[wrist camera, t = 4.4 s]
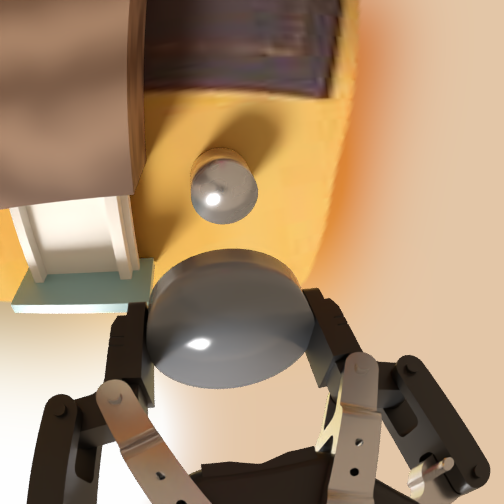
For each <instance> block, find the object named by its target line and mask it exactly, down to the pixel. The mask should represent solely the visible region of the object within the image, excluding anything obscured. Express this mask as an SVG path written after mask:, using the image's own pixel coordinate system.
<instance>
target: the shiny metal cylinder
mask: <svg viewBox="0 0 504 504" xmlns="http://www.w3.org/2000/svg"><path fill="white" fill-rule="evenodd" d="M257 197H258V188H257V184H256V181H255V179H254V177H253V175H252V173H251V171H250V169H249V168H248V166H247V164H246V162H245V160H244V159H243V157H242V156H241V155H240V154H238V153H237V152H235V151H233V150H231V149H228V148H214V149H210V150H208V151H206V152H204V153H203V154H201V155H200V156H199V157H198V158H197V159H196V161H195V162H194V164H193V166H192V169H191V200H192V204H193V207H194V209H195V210H196V212H197V213H198V214H199V215H200V216H201V217H202V218H203V219H205V220H207V221H209V222H211V223H215V224H230V223H234V222H237V221H239V220H241V219H242V218H244V217H245V216H247V215H248V214H249V213H250V211H251V210H252V209H253V207H254V206H255V203H256V201H257Z"/></svg>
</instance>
